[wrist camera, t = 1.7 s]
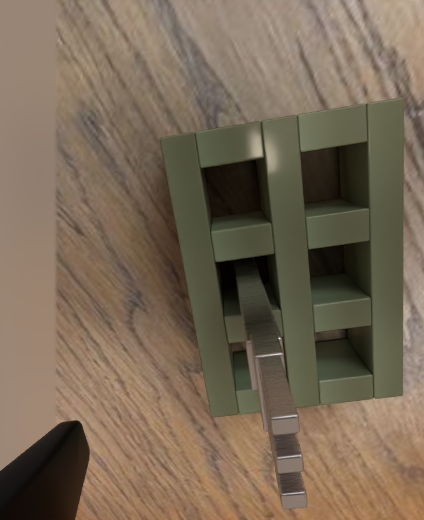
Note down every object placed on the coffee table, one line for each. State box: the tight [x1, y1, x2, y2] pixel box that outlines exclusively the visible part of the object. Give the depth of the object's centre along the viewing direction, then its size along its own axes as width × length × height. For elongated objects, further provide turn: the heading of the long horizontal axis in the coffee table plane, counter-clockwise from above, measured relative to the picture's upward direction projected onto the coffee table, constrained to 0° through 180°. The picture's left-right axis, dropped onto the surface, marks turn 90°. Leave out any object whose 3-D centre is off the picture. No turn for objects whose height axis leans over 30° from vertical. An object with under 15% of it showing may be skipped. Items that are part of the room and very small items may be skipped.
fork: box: [233, 257, 307, 509], centre depth 13 cm, size 1×2×13 cm, turn 9°
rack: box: [160, 98, 404, 417], centre depth 17 cm, size 9×13×4 cm
